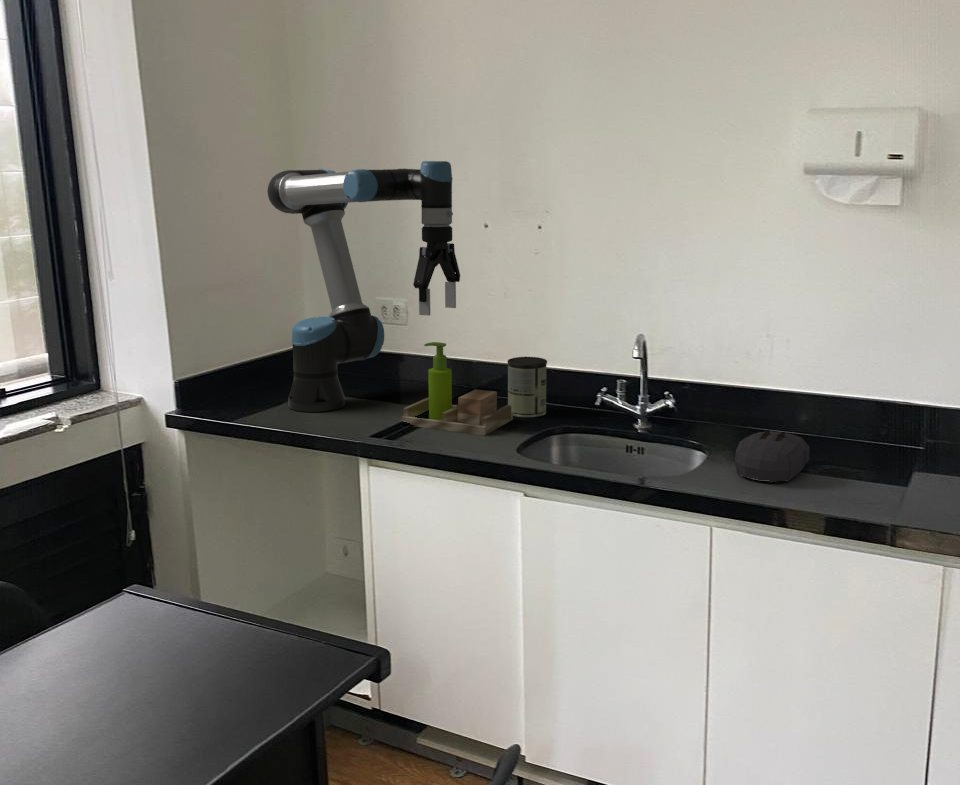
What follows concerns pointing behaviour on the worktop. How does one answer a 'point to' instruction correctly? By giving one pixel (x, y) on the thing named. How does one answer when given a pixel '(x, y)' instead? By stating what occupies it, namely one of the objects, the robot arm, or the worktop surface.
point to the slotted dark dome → (771, 456)
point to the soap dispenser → (439, 384)
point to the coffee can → (527, 386)
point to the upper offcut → (477, 402)
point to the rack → (455, 419)
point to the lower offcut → (473, 418)
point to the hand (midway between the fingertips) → (438, 311)
